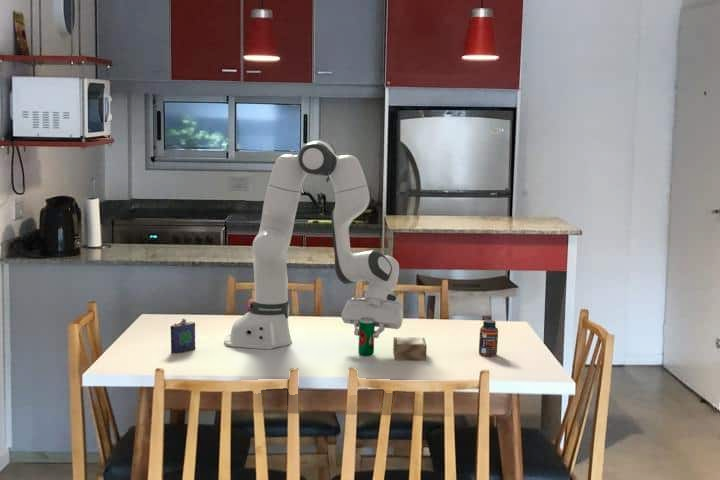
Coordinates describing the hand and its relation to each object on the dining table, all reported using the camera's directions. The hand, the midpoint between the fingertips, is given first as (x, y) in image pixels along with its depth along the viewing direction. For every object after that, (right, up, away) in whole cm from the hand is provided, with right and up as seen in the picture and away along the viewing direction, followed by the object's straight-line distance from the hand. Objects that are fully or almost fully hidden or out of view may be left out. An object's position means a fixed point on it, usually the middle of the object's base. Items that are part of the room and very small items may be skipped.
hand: (365, 335), depth 299 cm
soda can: (0, -6, +1) cm, 7 cm away
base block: (+14, -7, +1) cm, 16 cm away
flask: (-59, -5, +1) cm, 59 cm away
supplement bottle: (+40, -7, +5) cm, 41 cm away
